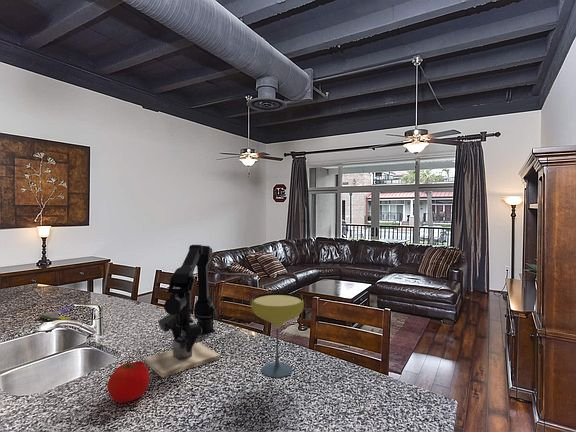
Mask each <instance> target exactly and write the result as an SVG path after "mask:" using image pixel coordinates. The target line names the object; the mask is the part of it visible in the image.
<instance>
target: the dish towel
mask: <svg viewBox="0 0 576 432" xmlns="http://www.w3.org/2000/svg"><path fill="white" fill-rule="evenodd" d="M77 305H84V304H83V303H78V304H77ZM73 306H74V305H72V306H68V307H66V308H63V309H60V310H55V311H52V312H48V313H44V314H43V313H42V314H39V315H37V318H39V317H40V319H42V318H45V319H51V320H67V319H69V317H65V316H57V315H58V313H60V312H63V311H66V310H67V309H69V308H72V307H73ZM100 307H101V309H102V310H103V308H104V307H103V306H100ZM85 313H91V311H87V312H85ZM45 319H44V320H45Z"/></svg>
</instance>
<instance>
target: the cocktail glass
mask: <svg viewBox="0 0 576 432" xmlns="http://www.w3.org/2000/svg"><path fill="white" fill-rule="evenodd" d="M304 306H305V305H304V299H303V297H301V296H300V295H298V294H293V293H288V292H287V293H286V292H268V293H266V292H265V293H262V294H258V295H255V296H253V298H252V299H251V306H250V307H251V311H252V313H253V314H254V315H255V316H257V317H258V318H260V319H262V320H264V321H266V322H269V323H270V324H271V325H272V326H273V327H274V328H275V329H276V336H275V337H276V341H275V342H276V345H275V348H276V349H275V350H276V351H275V362H269V363H267V364H265V365H263V366H262V367H261V372H262V374H263V375H264V376H266V377H269V378H273V379H275V378H277V379H280V378H284V377H287V376H290V375H291V374H292V373H293V371H294V370H293V367H292V366H291V365H290V364H288V363H285V362H280V360H279V329H280V328H281V327H282V326H283V324H285V323H286V322H288V321H291V320H293V319H295V318H296V317H298V316H299V315H300V314H302V312H303V310H304Z"/></svg>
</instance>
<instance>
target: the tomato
mask: <svg viewBox="0 0 576 432" xmlns="http://www.w3.org/2000/svg"><path fill="white" fill-rule="evenodd" d="M149 384H150V372H149V369H148V367H147V365H146V363H145V361H143V360H137V361H133V362H129V360H126V363H123V364H121V365H120V366H117V367H116V368H115V370H113V372H112V374H111V376H110V377H109V378H108V382H107V386H106V390H107V392H108V394H109V396H110V398H111V399H112V400H113V402H116V403H120V404H123V403H127V402H132V401H135V400H136V399H139V398H140V397H141V396H143V394H144V393H145V392H146V390H147V388H148V387H149Z"/></svg>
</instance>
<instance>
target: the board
mask: <svg viewBox="0 0 576 432" xmlns="http://www.w3.org/2000/svg"><path fill="white" fill-rule="evenodd" d="M220 359H221V354H220V353H218V352H216V351H215V350H213V349H212V348H210V347H208V346H207V345H205V344H204V343H202V342H195V343H194V345H193V347H192V357H188V358H185V359H182V360H178V359H177V358H175V357H174V356H173V349H170V350H167V351H164V352H160V353H157V354H153V355H149V356H146V357H144V364H145V365H146V364H147V366H148V367H150V368H151V369H152V370H153V371H154V372H155V373H156V374H158V376H159V377H161V378H162V379H163V378H165V377H166V378H167V377H169V375H170V376H172V374H173V375H175V373H176V374H179V373H181V371H182V372H184V371H183V370H185V371H187V370H186V369H188V370H191V369H193V367H194V368H196V367H199V366H202V365H205V364H209V363H211V362H215V361H217V360H220ZM190 368H191V369H190ZM178 372H179V373H178Z"/></svg>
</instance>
